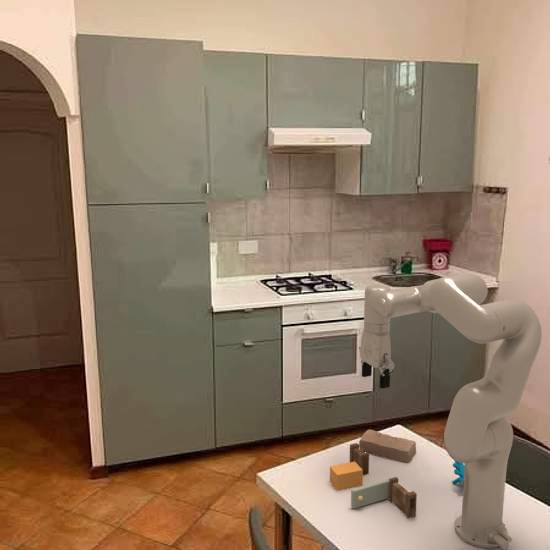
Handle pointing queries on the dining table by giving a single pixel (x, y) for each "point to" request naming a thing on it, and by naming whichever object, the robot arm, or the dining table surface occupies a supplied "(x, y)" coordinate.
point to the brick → (387, 446)
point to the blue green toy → (459, 471)
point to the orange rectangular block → (346, 475)
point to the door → (369, 493)
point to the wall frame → (396, 491)
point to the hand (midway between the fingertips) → (375, 381)
